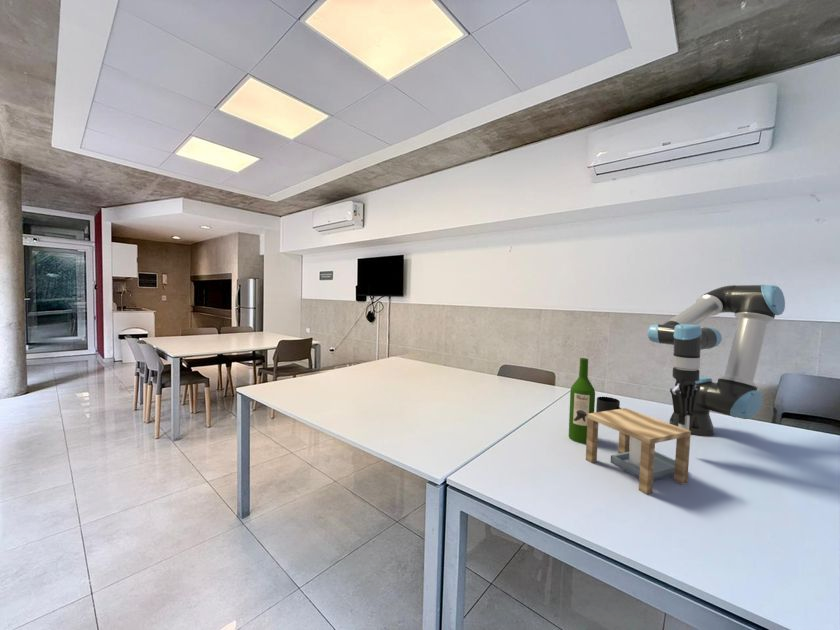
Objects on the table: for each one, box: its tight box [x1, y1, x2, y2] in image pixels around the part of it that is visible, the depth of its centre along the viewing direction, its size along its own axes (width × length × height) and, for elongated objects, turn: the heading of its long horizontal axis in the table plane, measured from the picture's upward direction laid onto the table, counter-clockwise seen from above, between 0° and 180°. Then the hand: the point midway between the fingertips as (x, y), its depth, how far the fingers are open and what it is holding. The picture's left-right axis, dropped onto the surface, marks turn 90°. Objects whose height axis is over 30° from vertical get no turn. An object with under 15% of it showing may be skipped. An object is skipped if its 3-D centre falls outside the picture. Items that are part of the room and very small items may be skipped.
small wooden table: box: [585, 407, 692, 495], centre depth 112 cm, size 18×22×16 cm
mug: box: [595, 396, 622, 413], centre depth 159 cm, size 9×12×9 cm
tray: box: [610, 450, 675, 481], centre depth 115 cm, size 18×13×2 cm
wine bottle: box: [568, 357, 596, 444], centre depth 136 cm, size 9×9×32 cm
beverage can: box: [629, 436, 641, 469], centre depth 113 cm, size 6×6×12 cm
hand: (683, 432), depth 123 cm, fingers closed
